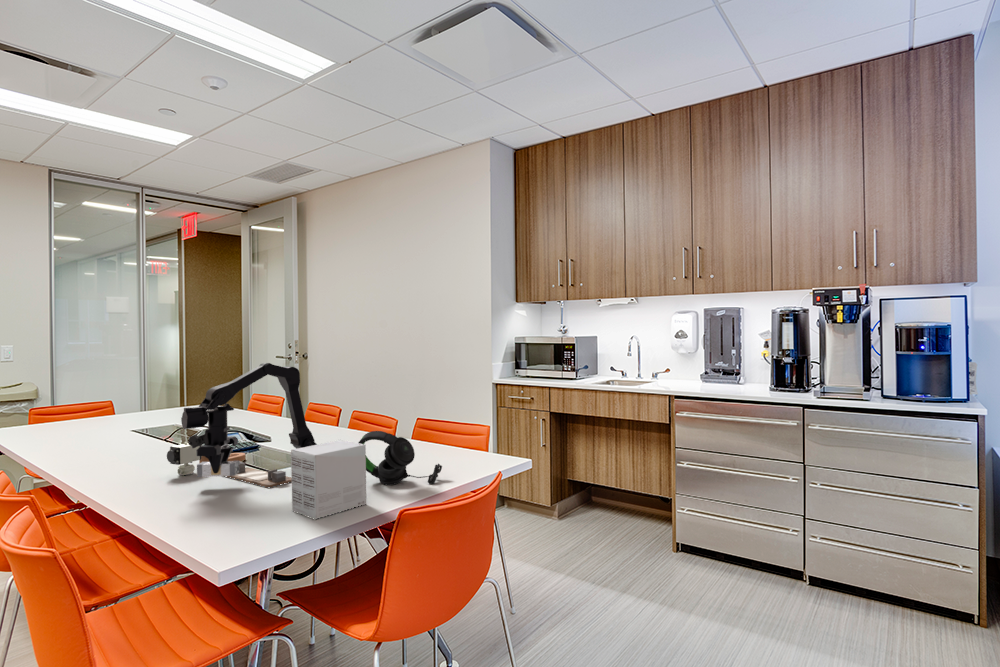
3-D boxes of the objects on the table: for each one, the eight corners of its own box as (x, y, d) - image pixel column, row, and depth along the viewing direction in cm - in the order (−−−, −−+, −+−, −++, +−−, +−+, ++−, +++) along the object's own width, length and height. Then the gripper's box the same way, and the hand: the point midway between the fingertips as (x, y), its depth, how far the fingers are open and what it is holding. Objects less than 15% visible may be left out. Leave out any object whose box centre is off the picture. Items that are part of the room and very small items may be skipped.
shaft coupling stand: (295, 481, 189) (295, 469, 189) (268, 488, 180) (268, 475, 180) (247, 469, 206) (247, 458, 206) (221, 475, 198) (220, 464, 198)
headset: (420, 509, 183) (345, 468, 185) (435, 482, 195) (365, 444, 197) (437, 475, 174) (358, 432, 176) (452, 449, 186) (377, 409, 187)
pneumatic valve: (205, 471, 205) (204, 439, 205) (175, 479, 194) (174, 445, 194) (195, 469, 207) (194, 438, 207) (165, 477, 196) (164, 444, 196)
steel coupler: (239, 472, 185) (239, 460, 185) (234, 475, 181) (234, 463, 181) (202, 473, 184) (202, 461, 184) (197, 477, 180) (196, 464, 180)
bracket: (208, 470, 206) (208, 452, 206) (194, 468, 210) (194, 450, 210) (249, 460, 222) (249, 443, 222) (236, 458, 226) (236, 441, 226)
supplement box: (341, 496, 170) (340, 439, 170) (367, 504, 162) (367, 444, 162) (290, 511, 157) (289, 448, 157) (315, 520, 148) (314, 454, 148)
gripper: (205, 421, 191) (205, 465, 191) (178, 430, 172) (179, 480, 172) (238, 420, 192) (238, 464, 192) (215, 429, 173) (216, 478, 173)
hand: (218, 471), depth 182 cm, fingers closed on steel coupler, 4 cm apart
